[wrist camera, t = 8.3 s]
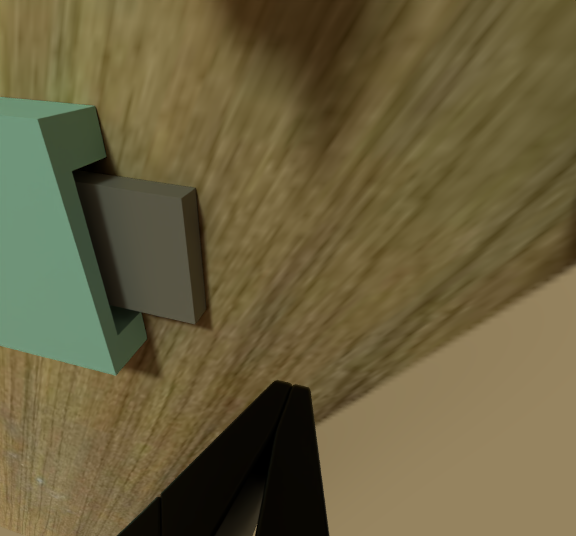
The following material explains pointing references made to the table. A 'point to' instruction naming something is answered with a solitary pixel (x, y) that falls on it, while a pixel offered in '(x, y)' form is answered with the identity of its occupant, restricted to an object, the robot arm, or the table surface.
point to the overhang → (54, 242)
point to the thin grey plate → (145, 244)
